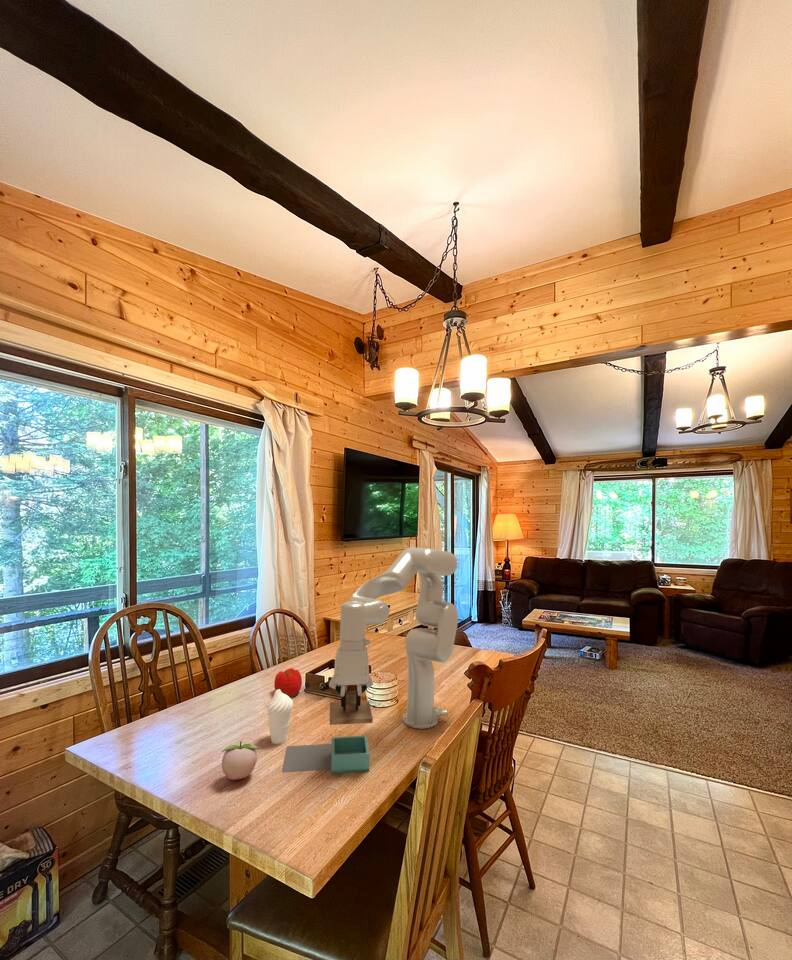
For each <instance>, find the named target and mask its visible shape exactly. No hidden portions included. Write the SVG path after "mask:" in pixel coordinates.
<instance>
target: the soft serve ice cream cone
mask: <svg viewBox="0 0 792 960" xmlns="http://www.w3.org/2000/svg"><path fill="white" fill-rule="evenodd" d="M293 707H294V702H293V699H292V698H291V696H288V695H286V694H284V693H282V692H281V690H280V689H278V690H276V691H275V690H274V693H273V696H272V698H270V700H269V701H268V702H267V705H266V712H267V716H268V727H269V733H270V740H271V744H273V745H279V744H283V743H285V742H286V741H287V740H286V739H287V736H288V735H287V734H288V731H289V727H290V723H291V722H290V720H291V713H292V709H293Z"/></svg>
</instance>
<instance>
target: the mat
mask: <svg viewBox="0 0 792 960" xmlns="http://www.w3.org/2000/svg"><path fill="white" fill-rule="evenodd" d="M331 746H332V743H319V744H307V745H306V744H304V745H287V746H286V748H285V754H284V759H283V764H282V769H281V773H295V772H308V771H309V772H311V771H324V770H331Z"/></svg>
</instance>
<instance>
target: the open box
mask: <svg viewBox="0 0 792 960" xmlns="http://www.w3.org/2000/svg"><path fill="white" fill-rule="evenodd" d="M331 744H332V746H331V769H330V771H331V772H330V774H331V775H336V774H347V773H348V774H349V773H350V774H351V773H364V772H370V749H369V743H368V736H367V735H353V736H351V735H349V736H338V737H337V736H335V737H331Z"/></svg>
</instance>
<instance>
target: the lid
mask: <svg viewBox="0 0 792 960" xmlns="http://www.w3.org/2000/svg"><path fill="white" fill-rule="evenodd" d="M356 691H357V689H355V690H354V689H353V690H345V694H346V710H345V711H343V707H341V701H340V702H339V701H335V702H333V701H332V702H329V725H330V726H334V725H335V726H336V725H357V724H373V720H374V719H373V715H372V709H371V703H370V701H369V700H366V701H365V700H361V702H360V706H358V710H356Z"/></svg>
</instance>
